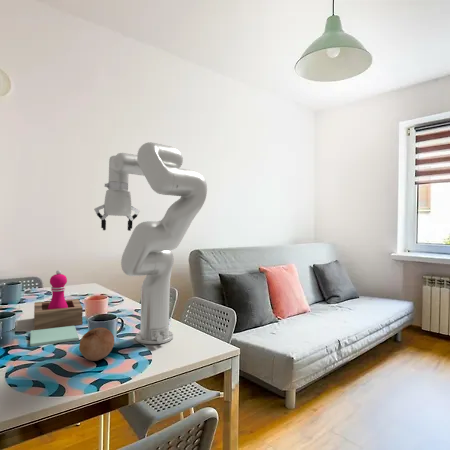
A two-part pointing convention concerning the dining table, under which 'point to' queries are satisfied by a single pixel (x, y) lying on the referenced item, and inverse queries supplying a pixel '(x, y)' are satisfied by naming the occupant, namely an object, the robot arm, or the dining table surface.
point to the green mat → (53, 335)
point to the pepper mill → (58, 291)
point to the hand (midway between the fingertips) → (116, 230)
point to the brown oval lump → (96, 344)
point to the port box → (57, 315)
